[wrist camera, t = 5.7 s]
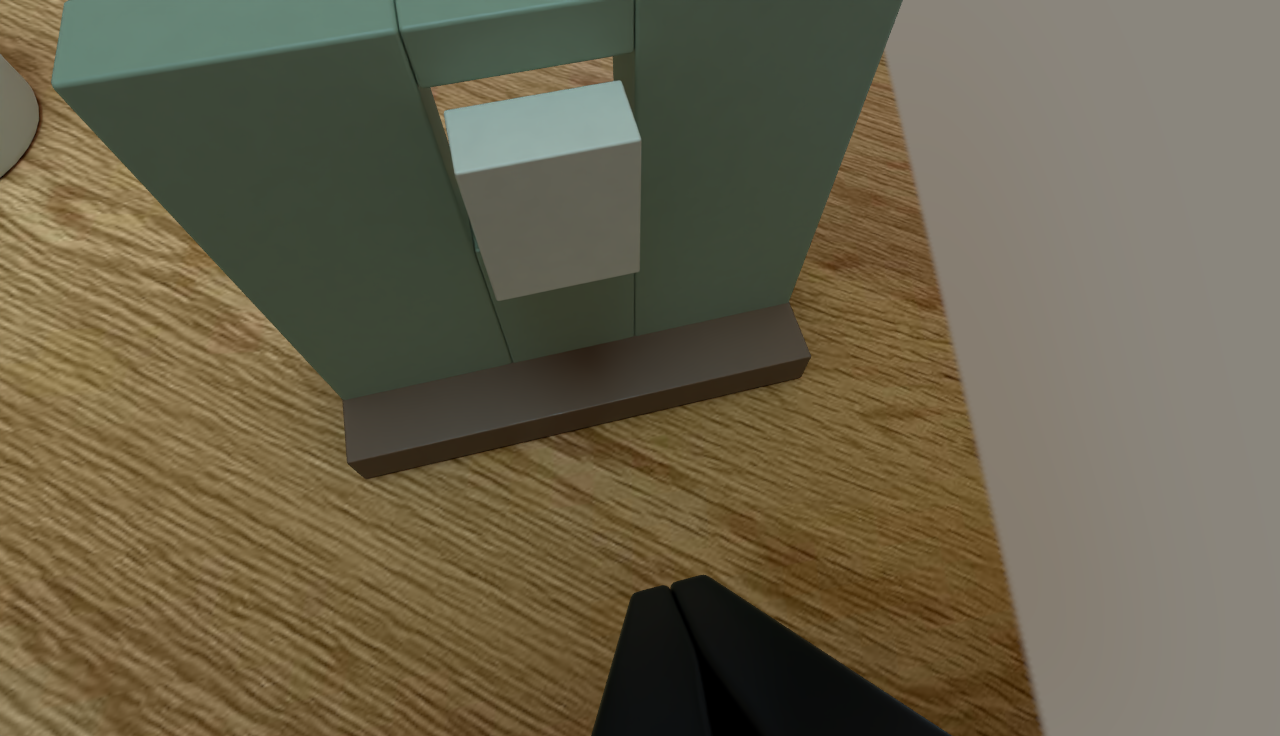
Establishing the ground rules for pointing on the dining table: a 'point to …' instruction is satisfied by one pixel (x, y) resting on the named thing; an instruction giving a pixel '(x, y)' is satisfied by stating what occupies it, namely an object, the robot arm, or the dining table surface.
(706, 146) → the wall plate
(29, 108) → the mug
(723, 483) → the dining table surface
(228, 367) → the dining table surface
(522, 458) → the dining table surface
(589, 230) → the switch
